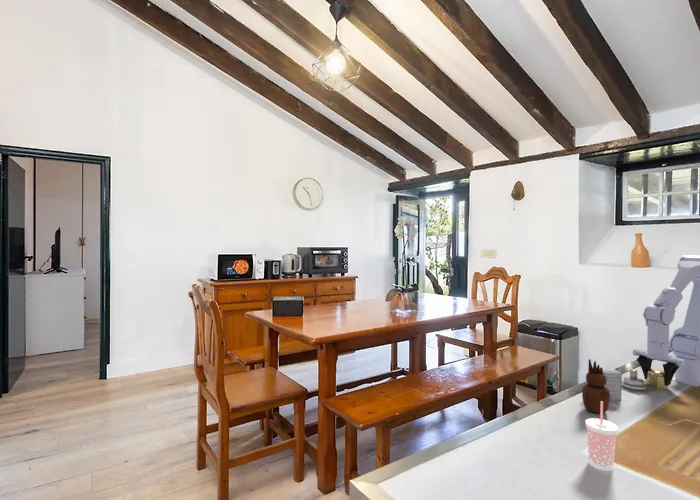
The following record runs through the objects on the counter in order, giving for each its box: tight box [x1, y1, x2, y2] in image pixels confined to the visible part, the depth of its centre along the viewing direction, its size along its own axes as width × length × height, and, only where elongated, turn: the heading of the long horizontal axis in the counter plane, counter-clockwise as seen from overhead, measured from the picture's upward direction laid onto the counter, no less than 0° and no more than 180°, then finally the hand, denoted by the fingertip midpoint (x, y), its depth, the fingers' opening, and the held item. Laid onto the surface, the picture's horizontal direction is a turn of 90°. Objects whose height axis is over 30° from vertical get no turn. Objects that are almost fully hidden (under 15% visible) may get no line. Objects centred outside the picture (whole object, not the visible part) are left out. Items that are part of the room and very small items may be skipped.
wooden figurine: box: [581, 359, 611, 414], centre depth 114 cm, size 7×6×15 cm
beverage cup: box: [584, 401, 619, 472], centre depth 87 cm, size 6×6×14 cm
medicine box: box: [587, 368, 623, 401], centre depth 124 cm, size 8×4×9 cm, turn 84°
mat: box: [621, 379, 660, 396], centre depth 133 cm, size 16×10×1 cm, turn 115°
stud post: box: [622, 369, 647, 391], centre depth 132 cm, size 7×7×6 cm
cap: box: [646, 368, 669, 390], centre depth 133 cm, size 5×5×5 cm
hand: (657, 381), depth 133 cm, fingers closed on cap, 5 cm apart
